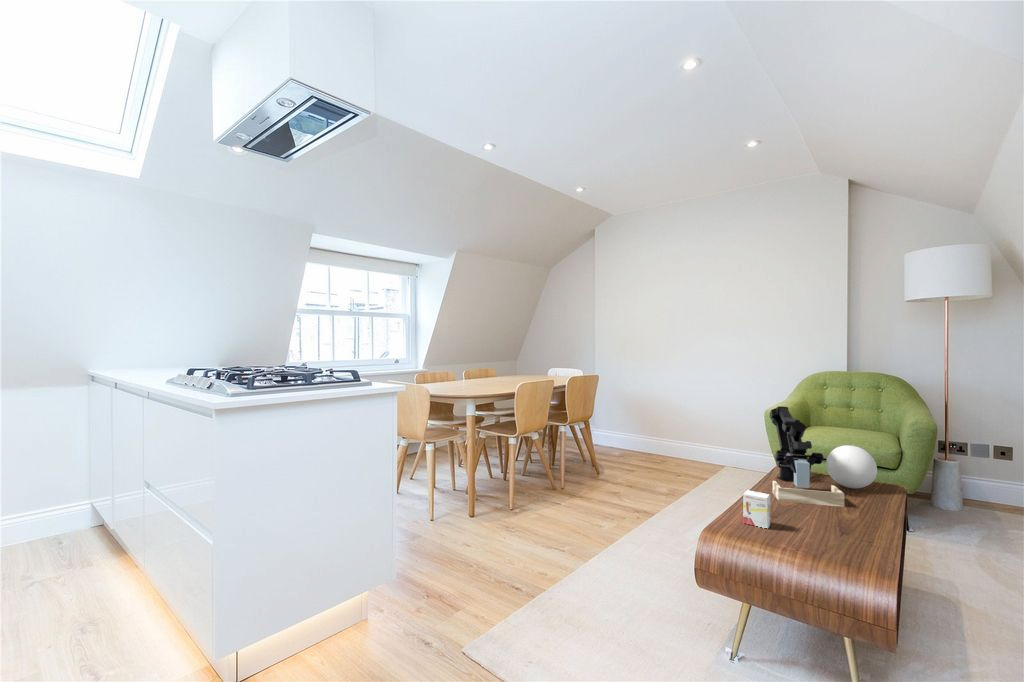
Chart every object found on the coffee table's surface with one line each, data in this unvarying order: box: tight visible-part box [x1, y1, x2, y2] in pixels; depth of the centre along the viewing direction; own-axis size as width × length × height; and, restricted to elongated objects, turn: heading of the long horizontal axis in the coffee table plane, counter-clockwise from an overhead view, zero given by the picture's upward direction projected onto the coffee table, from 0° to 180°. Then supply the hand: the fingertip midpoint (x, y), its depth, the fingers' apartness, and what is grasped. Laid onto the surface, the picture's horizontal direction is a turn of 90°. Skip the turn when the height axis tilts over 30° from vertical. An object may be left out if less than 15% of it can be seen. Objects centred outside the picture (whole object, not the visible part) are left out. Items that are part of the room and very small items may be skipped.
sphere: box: [825, 444, 878, 489], centre depth 223 cm, size 20×20×20 cm
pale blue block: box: [793, 459, 811, 489], centre depth 211 cm, size 5×5×11 cm
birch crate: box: [772, 480, 845, 508], centre depth 204 cm, size 12×24×6 cm, turn 72°
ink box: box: [742, 489, 771, 530], centre depth 176 cm, size 9×5×12 cm, turn 50°
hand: (802, 473), depth 210 cm, fingers closed on pale blue block, 5 cm apart
